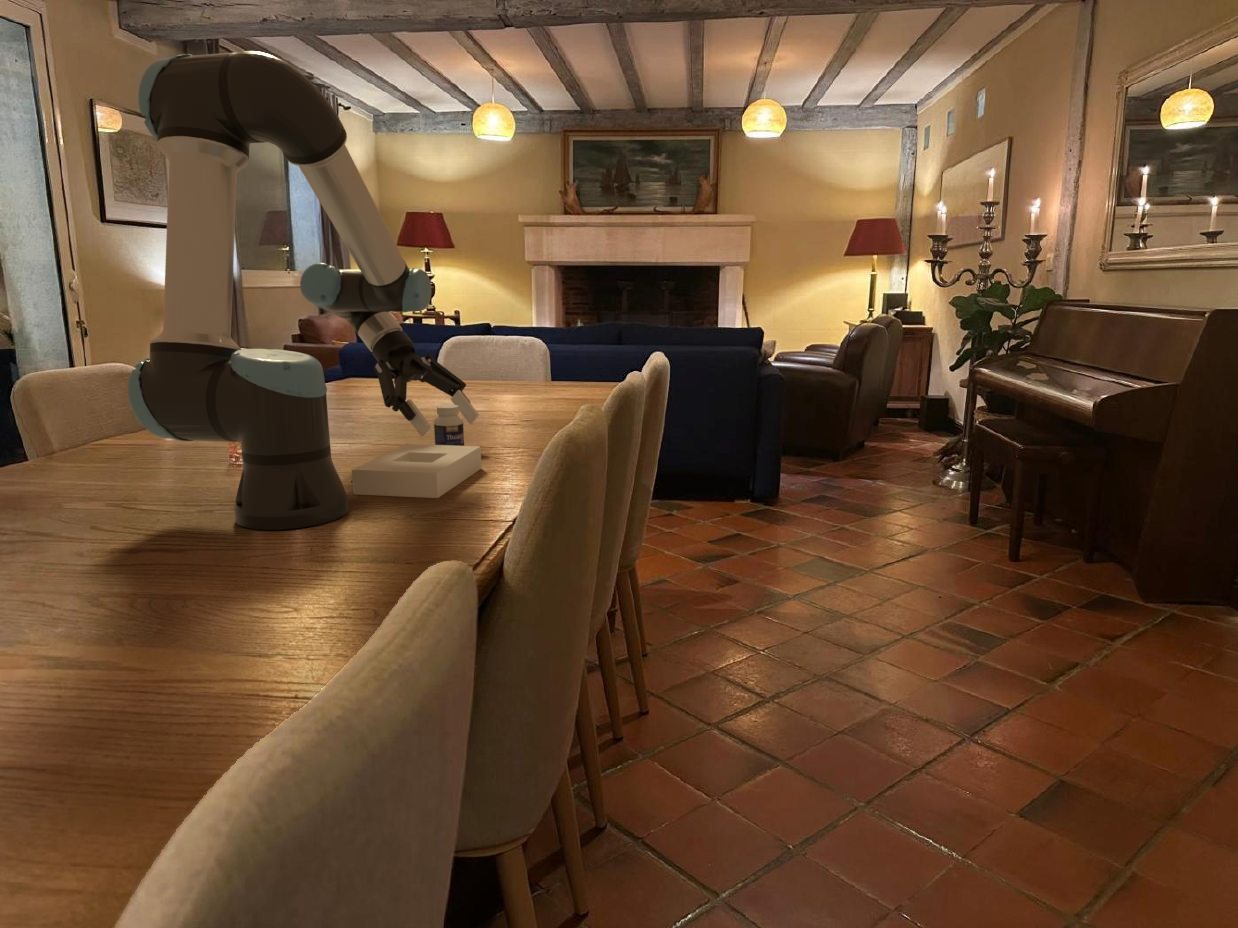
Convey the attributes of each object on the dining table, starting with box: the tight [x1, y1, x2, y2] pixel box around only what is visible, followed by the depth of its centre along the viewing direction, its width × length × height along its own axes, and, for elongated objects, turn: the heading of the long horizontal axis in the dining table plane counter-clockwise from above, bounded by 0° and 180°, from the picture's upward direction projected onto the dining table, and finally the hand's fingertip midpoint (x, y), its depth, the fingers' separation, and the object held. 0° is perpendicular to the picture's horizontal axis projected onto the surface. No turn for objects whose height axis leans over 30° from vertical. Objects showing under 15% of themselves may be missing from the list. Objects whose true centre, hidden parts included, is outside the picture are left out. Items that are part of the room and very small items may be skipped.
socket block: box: [351, 443, 483, 499], centre depth 136 cm, size 14×20×4 cm
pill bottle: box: [433, 404, 465, 446], centre depth 152 cm, size 5×5×10 cm
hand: (451, 425), depth 153 cm, fingers open, 13 cm apart
